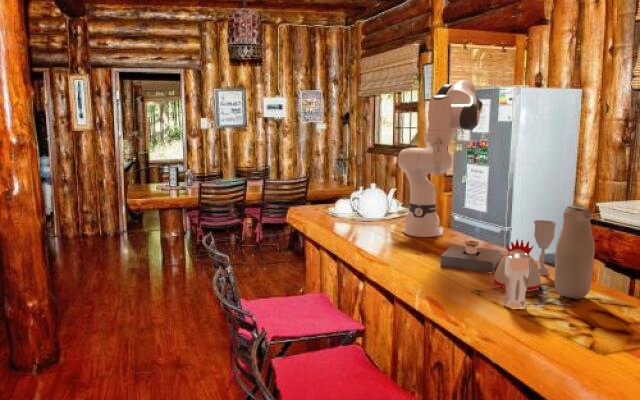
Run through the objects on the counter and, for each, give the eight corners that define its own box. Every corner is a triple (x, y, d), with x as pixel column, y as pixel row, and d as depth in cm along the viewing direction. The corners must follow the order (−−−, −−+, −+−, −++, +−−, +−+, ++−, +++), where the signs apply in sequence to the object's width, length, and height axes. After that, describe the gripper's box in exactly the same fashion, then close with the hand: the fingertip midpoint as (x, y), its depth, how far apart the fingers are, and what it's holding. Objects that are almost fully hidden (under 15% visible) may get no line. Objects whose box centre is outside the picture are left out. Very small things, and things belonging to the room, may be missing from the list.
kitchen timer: (535, 295, 161) (538, 247, 159) (489, 287, 168) (491, 241, 166) (543, 283, 173) (546, 238, 170) (500, 276, 180) (502, 232, 178)
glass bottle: (594, 297, 159) (602, 205, 155) (582, 305, 152) (591, 209, 148) (559, 289, 166) (566, 201, 162) (547, 297, 159) (554, 205, 154)
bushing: (464, 260, 198) (466, 239, 197) (478, 262, 196) (479, 241, 195) (462, 264, 194) (463, 242, 192) (476, 265, 191) (477, 243, 190)
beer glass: (497, 302, 154) (500, 252, 152) (520, 301, 155) (524, 251, 152) (508, 311, 147) (511, 258, 145) (532, 310, 148) (535, 258, 146)
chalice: (552, 271, 185) (556, 221, 182) (553, 277, 178) (557, 224, 176) (529, 269, 187) (533, 219, 184) (530, 275, 181) (534, 223, 178)
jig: (452, 254, 206) (452, 244, 206) (500, 260, 198) (501, 250, 198) (440, 266, 191) (440, 255, 190) (492, 273, 182) (493, 262, 182)
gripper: (447, 139, 192) (446, 177, 194) (447, 137, 211) (445, 171, 213) (429, 139, 193) (428, 177, 195) (431, 137, 213) (429, 171, 215)
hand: (437, 174), depth 205 cm, fingers open, 8 cm apart
